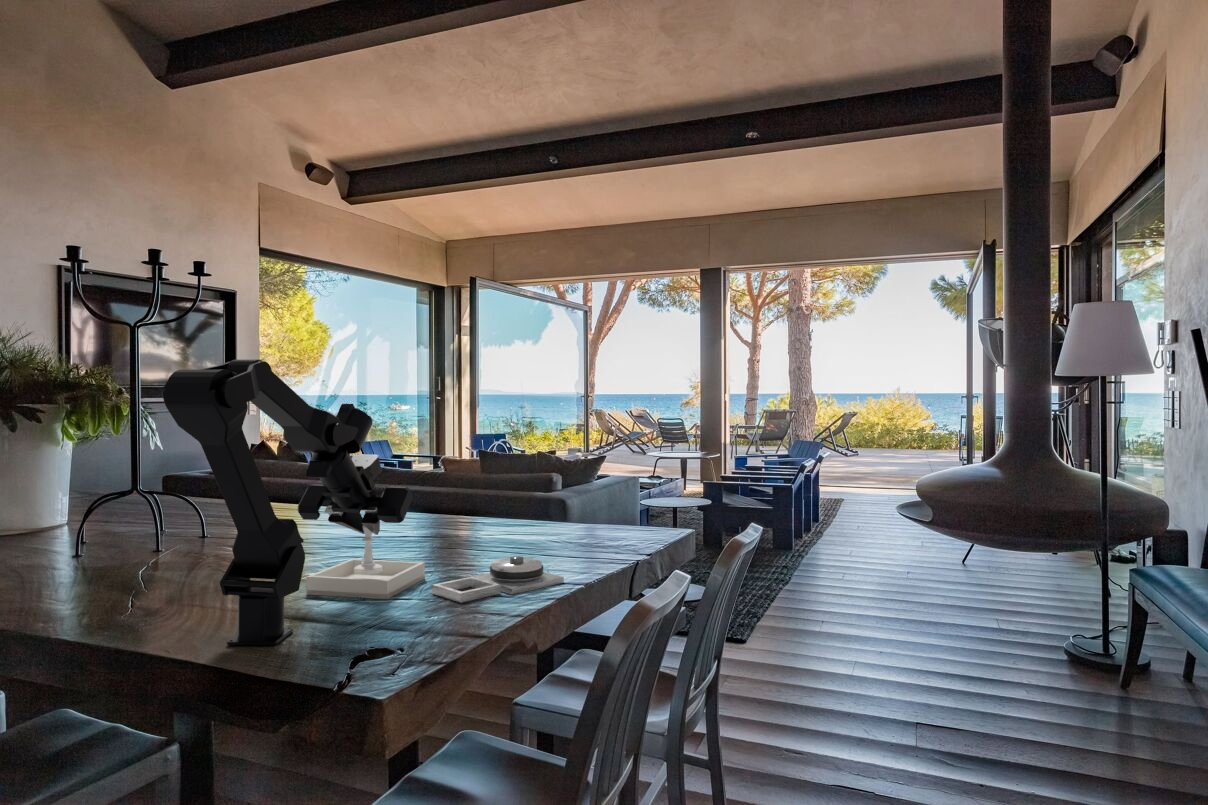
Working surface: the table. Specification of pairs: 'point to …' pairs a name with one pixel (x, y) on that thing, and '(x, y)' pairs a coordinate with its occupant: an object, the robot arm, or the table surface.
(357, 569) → the chess piece
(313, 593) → the tray
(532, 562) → the bracket
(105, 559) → the table surface
